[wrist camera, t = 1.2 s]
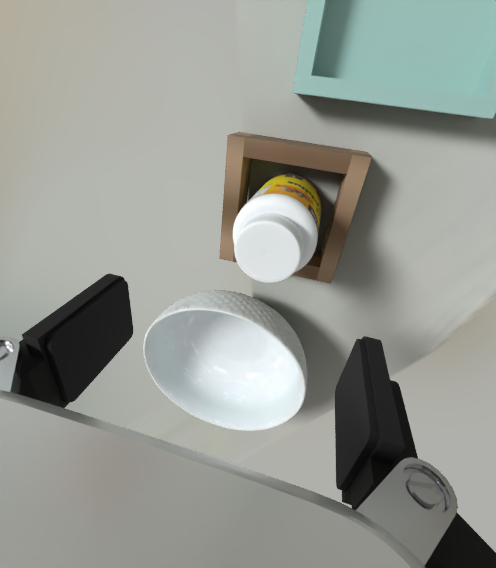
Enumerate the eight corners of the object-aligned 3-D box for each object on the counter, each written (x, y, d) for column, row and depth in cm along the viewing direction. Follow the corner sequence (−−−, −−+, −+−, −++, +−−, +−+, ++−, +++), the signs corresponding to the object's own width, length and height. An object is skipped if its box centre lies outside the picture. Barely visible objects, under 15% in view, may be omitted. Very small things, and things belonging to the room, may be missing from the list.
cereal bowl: (313, 274, 28) (308, 318, 22) (309, 389, 36) (305, 444, 30) (158, 267, 32) (119, 302, 26) (186, 372, 41) (161, 416, 35)
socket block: (239, 132, 23) (227, 135, 21) (367, 152, 22) (371, 157, 19) (229, 245, 28) (219, 258, 26) (331, 267, 27) (330, 283, 24)
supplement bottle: (334, 212, 24) (335, 268, 16) (281, 246, 27) (258, 308, 19) (297, 156, 23) (276, 184, 14) (245, 197, 26) (201, 241, 17)
